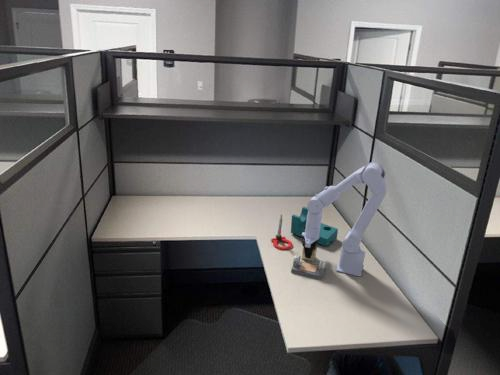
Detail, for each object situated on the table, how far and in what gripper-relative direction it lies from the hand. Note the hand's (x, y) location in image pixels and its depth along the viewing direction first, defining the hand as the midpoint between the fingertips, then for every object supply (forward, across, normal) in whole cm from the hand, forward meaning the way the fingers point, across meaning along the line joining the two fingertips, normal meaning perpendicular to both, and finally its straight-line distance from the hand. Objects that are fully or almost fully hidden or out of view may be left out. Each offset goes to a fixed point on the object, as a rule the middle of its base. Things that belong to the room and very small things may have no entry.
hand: (309, 255), depth 167 cm
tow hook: (+2, -6, -13) cm, 14 cm away
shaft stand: (+1, +10, +2) cm, 10 cm away
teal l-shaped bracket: (+2, -20, -2) cm, 20 cm away
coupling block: (+1, 0, 0) cm, 1 cm away
